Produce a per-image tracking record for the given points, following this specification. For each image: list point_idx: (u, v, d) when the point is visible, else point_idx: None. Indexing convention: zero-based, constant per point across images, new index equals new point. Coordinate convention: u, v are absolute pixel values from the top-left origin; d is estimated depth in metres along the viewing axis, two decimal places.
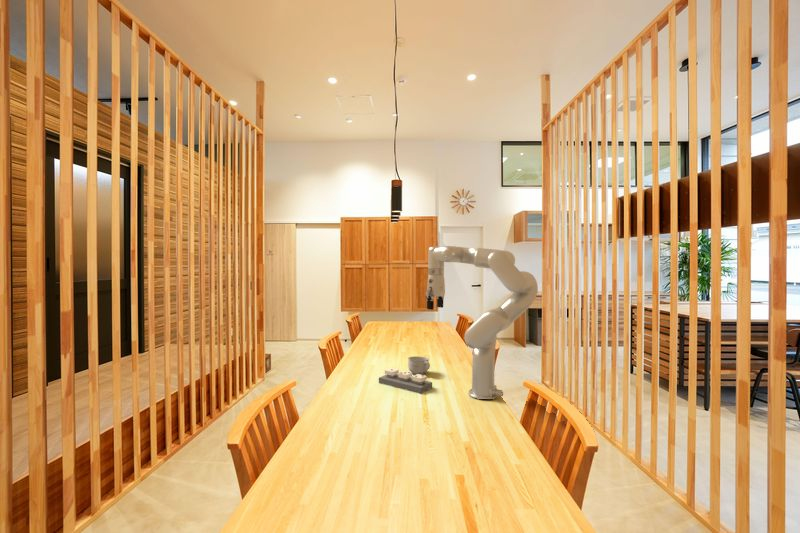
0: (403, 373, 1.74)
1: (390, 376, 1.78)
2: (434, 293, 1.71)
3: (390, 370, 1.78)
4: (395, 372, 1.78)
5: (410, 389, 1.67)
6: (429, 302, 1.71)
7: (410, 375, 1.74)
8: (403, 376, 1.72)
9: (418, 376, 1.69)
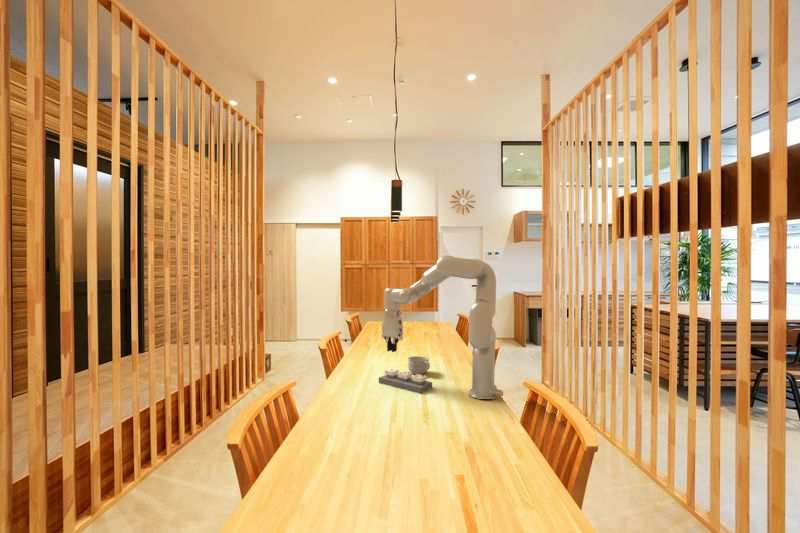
0: (403, 373, 1.74)
1: (390, 376, 1.78)
2: (402, 333, 1.78)
3: (390, 370, 1.78)
4: (395, 372, 1.78)
5: (410, 389, 1.67)
6: (395, 344, 1.78)
7: (410, 375, 1.74)
8: (403, 376, 1.72)
9: (418, 376, 1.69)
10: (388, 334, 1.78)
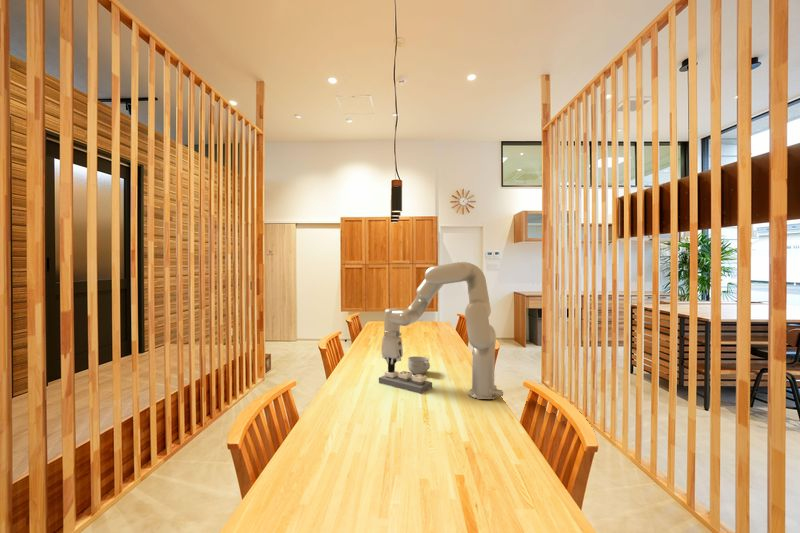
0: (403, 373, 1.74)
1: None
2: (402, 354, 1.78)
3: (390, 372, 1.78)
4: (394, 374, 1.78)
5: (410, 389, 1.67)
6: (394, 365, 1.79)
7: (410, 375, 1.74)
8: (403, 376, 1.72)
9: (418, 376, 1.69)
10: (388, 355, 1.78)
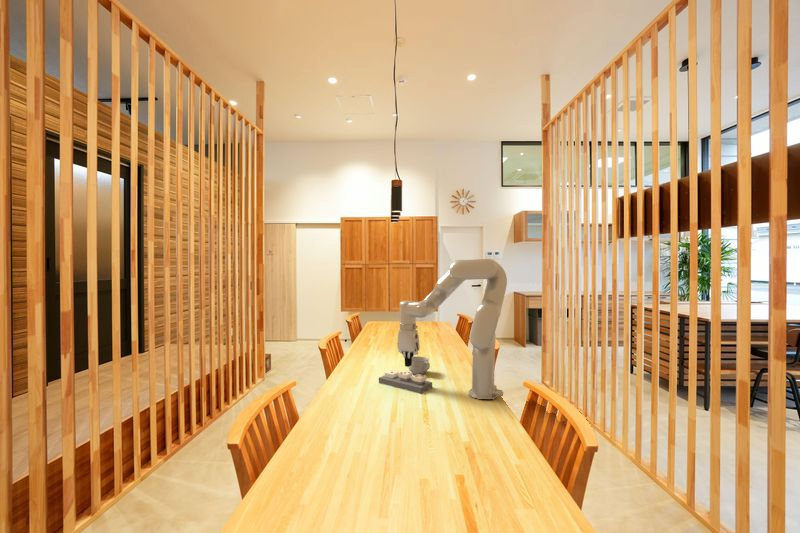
0: (403, 373, 1.74)
1: None
2: (419, 348, 1.72)
3: (390, 373, 1.78)
4: (394, 374, 1.78)
5: (410, 389, 1.67)
6: (410, 359, 1.73)
7: (410, 375, 1.74)
8: (403, 376, 1.72)
9: (418, 376, 1.69)
10: (404, 349, 1.72)
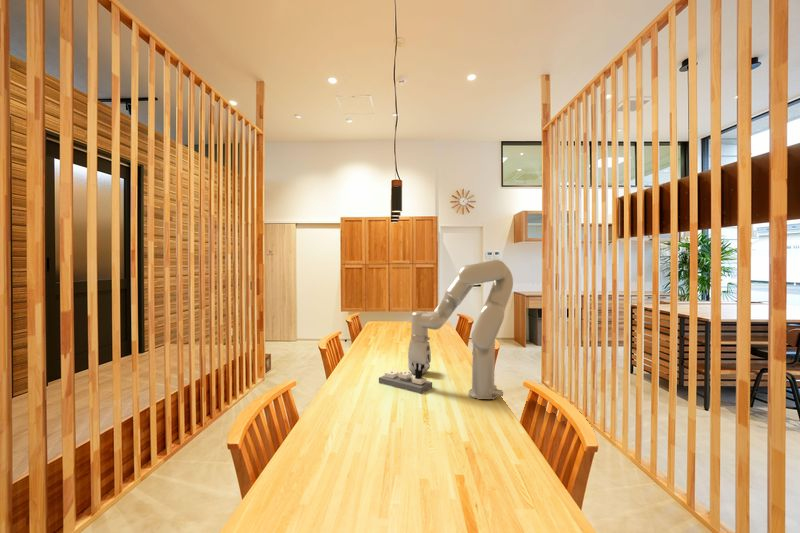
0: (403, 373, 1.74)
1: None
2: (430, 360, 1.69)
3: (390, 373, 1.78)
4: (394, 374, 1.78)
5: (410, 389, 1.67)
6: (421, 371, 1.69)
7: (410, 375, 1.74)
8: (403, 376, 1.72)
9: None
10: (415, 360, 1.68)
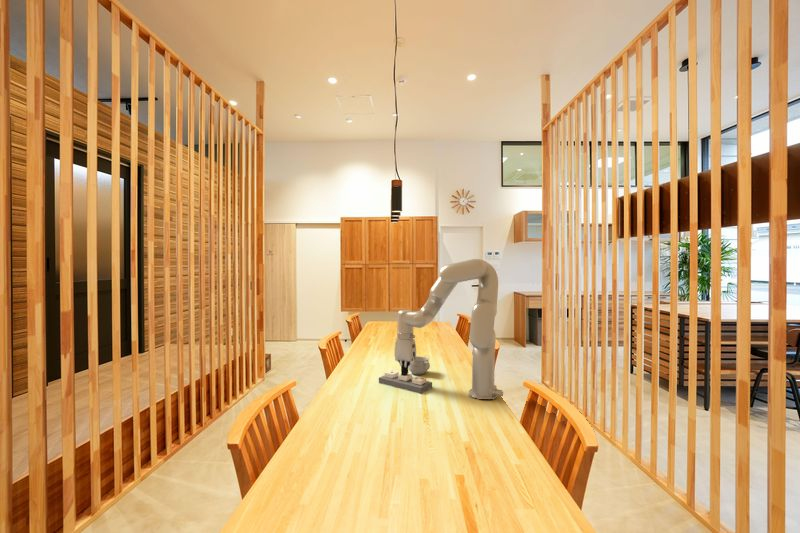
0: (403, 375, 1.74)
1: None
2: None
3: (390, 373, 1.78)
4: (394, 374, 1.78)
5: (410, 389, 1.67)
6: (407, 368, 1.74)
7: (410, 377, 1.74)
8: (403, 378, 1.72)
9: (418, 379, 1.69)
10: (401, 358, 1.73)
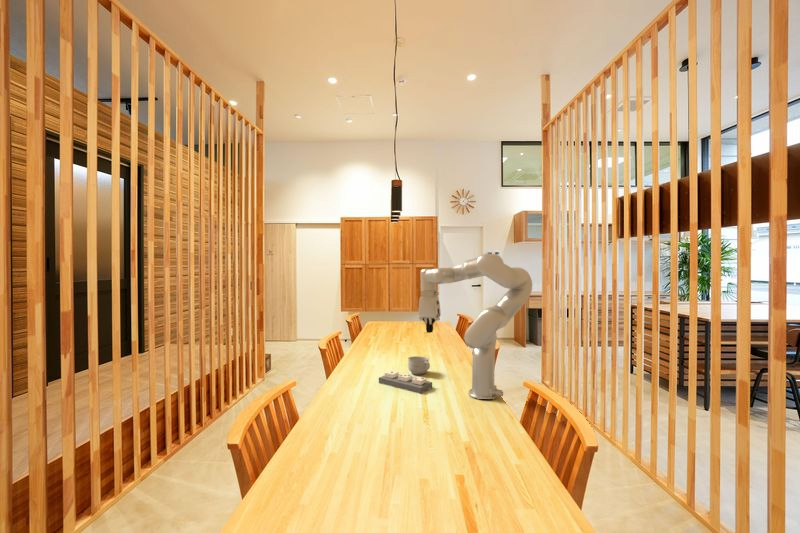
0: (403, 376, 1.74)
1: None
2: (440, 314, 1.77)
3: (390, 373, 1.78)
4: (394, 374, 1.78)
5: (410, 389, 1.67)
6: (432, 325, 1.77)
7: (410, 378, 1.74)
8: (403, 379, 1.72)
9: (418, 379, 1.69)
10: (426, 315, 1.77)
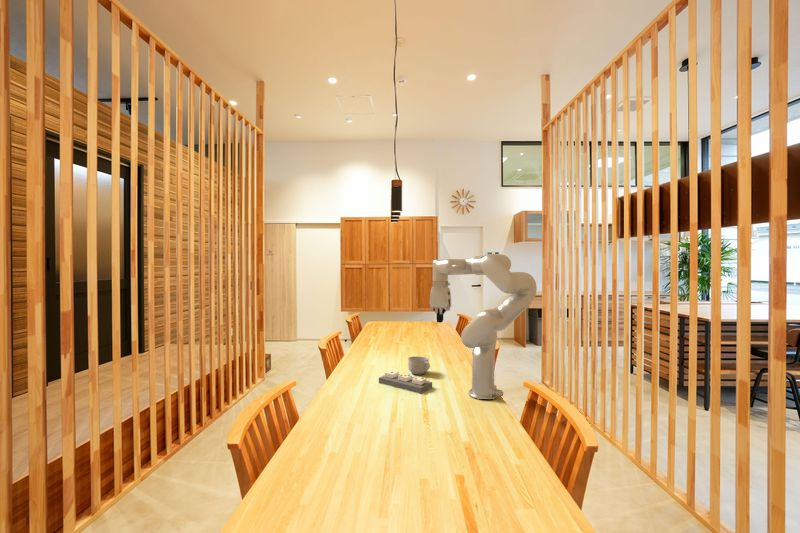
0: (403, 376, 1.74)
1: None
2: None
3: (390, 373, 1.78)
4: (394, 374, 1.78)
5: (410, 389, 1.67)
6: (442, 315, 1.80)
7: (410, 378, 1.74)
8: (403, 379, 1.72)
9: (418, 379, 1.69)
10: (436, 305, 1.79)
